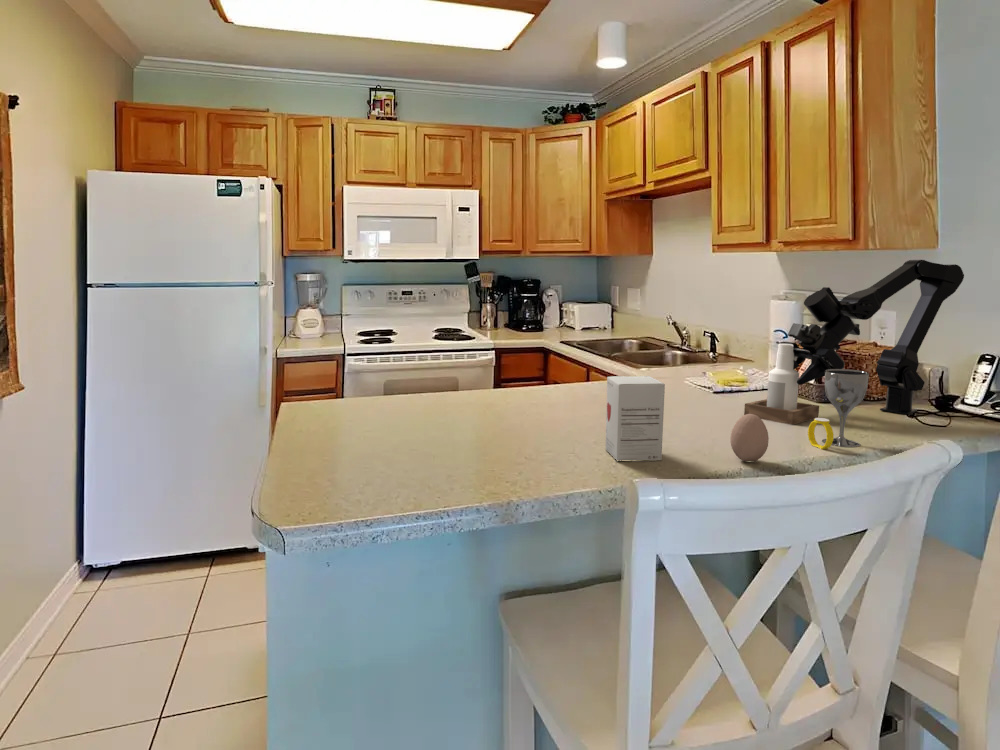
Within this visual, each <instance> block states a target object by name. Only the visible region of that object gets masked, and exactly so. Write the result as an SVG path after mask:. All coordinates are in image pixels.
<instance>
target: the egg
mask: <svg viewBox="0 0 1000 750" xmlns="http://www.w3.org/2000/svg"><path fill="white" fill-rule="evenodd" d="M769 439H770V438H769V432H768V429H767V427H766V424H765V423H764V420H763V419H760V418H759V417H758V416H756V415H754V414H746V415H744V414H743V415H742V416H740V417H739V418H738V420H736V422H735V424H734V425H733V427H732V429H731V433H730V447H731V449H732V452H733V453H734V455H735V456H736V457H737V458H738V459H739V460H740V461H743V462H745V461H754V462H756V461H759V460H760V459H762V457H763V456H764V455H765V454H766V452H767V451H768V447H769Z"/></svg>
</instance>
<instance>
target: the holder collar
mask: <svg viewBox="0 0 1000 750" xmlns="http://www.w3.org/2000/svg"><path fill="white" fill-rule="evenodd" d="M743 413H744V414H743V416H744V415H746V414H754V415H756V416H758V417H759V418H760V419H761V420H766V421H771V422H774V423H775V422H777V423H781V424H787V425H796V424H799V423H800V424H801V423H804V422H808V421H811V420H814V419H815V418H819V413H820V405H817V404H809V403H804V402H798V401H797V409H795V410H791V411H790V410H784V409H778V408H773V407H767V398H766V399H760V400H756V401H751V402H747V403H744V411H743Z"/></svg>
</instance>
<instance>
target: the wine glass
mask: <svg viewBox="0 0 1000 750" xmlns="http://www.w3.org/2000/svg"><path fill="white" fill-rule="evenodd" d="M869 379H870V373H869V372H867V371H863V370H857V369H847V368H846V369H845V368H843V369H828V370H825V376H824V390H825V395H826V398H827V400H828V401H829V402H830V403H831V405H832V406H833V407H834V409H835V410H836V412H837V413H838V417H839V434H838V436H837V437H833V442H832V445H831V446H833V447H838V446H840V447H839V448H857V446H858V447H860V446H861V443H859V442H857V441H855V440H852V439H851V440H850V439H848V438H846V437H845V434H844V432H845V426H846V423H847V422H846V421H847V418H848V416H849V414H850V413H851V412H852V411H853V409H855V408H856V407H857V406H858V405H859V404H861V402H863V400H864V399H865V396H866V394H867V390H868V386H869ZM826 440H827V438H823V439H822V440H821V443H823V444H825V443H826Z"/></svg>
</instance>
